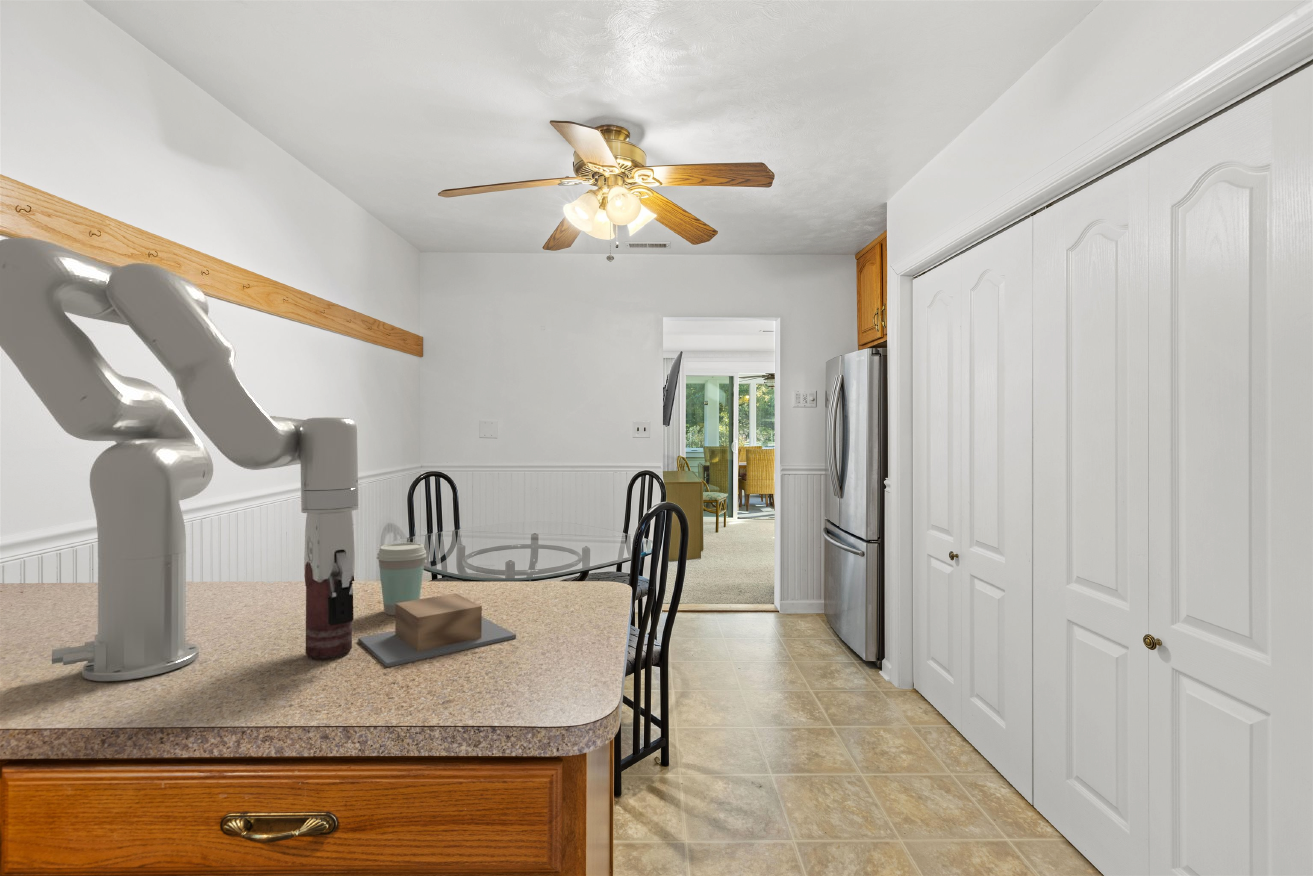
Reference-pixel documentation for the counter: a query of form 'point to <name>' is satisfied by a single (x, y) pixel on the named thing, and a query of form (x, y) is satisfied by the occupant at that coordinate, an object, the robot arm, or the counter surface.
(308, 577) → the can
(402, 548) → the coffee cup
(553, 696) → the counter surface
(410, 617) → the block
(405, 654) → the mat
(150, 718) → the counter surface
